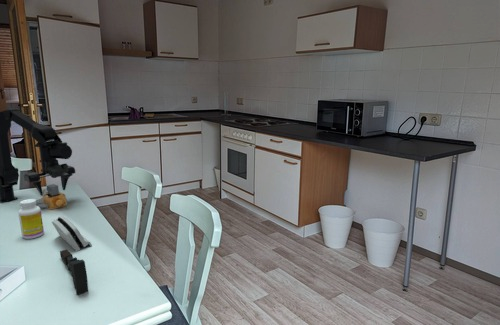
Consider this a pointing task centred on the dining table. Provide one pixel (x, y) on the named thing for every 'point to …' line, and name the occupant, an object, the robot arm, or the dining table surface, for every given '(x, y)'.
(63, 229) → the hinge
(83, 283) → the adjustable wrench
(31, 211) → the supplement bottle
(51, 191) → the tall grey box
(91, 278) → the dining table surface
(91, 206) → the dining table surface
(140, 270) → the dining table surface
